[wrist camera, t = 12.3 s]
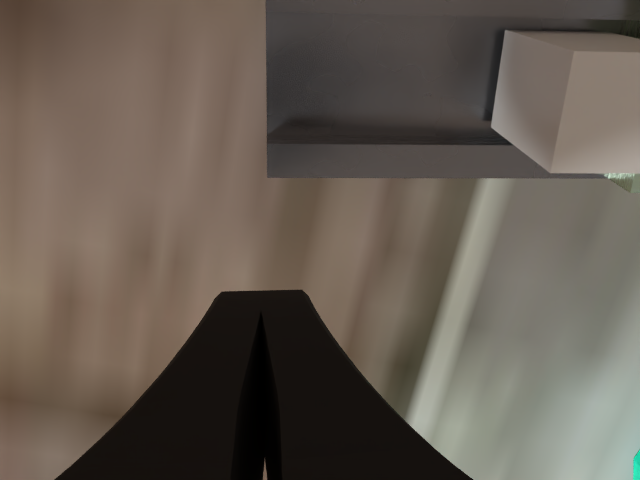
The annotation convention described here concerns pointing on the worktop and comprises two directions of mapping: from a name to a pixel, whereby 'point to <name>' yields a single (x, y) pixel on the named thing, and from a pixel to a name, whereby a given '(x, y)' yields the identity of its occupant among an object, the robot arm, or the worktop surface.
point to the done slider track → (407, 85)
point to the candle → (637, 467)
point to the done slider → (571, 99)
